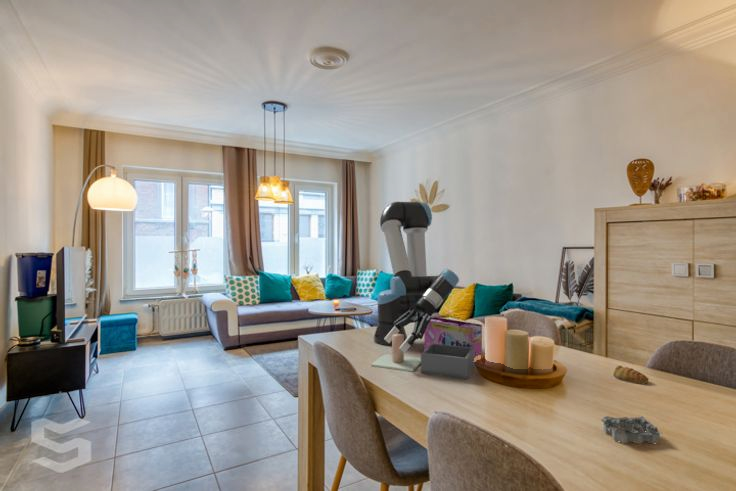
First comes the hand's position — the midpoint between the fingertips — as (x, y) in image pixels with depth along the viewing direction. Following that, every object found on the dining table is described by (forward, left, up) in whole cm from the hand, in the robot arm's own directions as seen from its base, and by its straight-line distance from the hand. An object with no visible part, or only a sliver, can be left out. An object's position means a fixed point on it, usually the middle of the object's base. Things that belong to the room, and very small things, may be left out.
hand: (393, 345), depth 147 cm
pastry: (-17, +77, -7) cm, 80 cm away
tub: (-1, +20, -7) cm, 21 cm away
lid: (-1, +1, -7) cm, 7 cm away
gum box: (-20, +18, -7) cm, 27 cm away
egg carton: (+27, +70, -7) cm, 76 cm away
